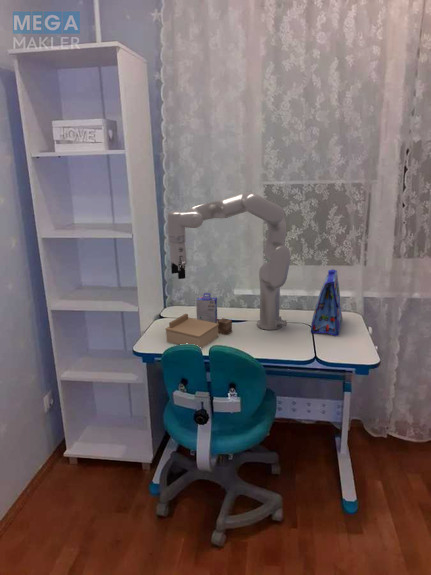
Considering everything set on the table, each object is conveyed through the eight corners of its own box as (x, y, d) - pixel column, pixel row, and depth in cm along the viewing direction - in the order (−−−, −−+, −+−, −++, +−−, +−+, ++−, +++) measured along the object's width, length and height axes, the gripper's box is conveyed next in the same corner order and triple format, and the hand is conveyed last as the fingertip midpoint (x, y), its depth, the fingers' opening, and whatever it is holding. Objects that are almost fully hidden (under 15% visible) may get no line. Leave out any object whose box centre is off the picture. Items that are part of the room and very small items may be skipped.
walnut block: (231, 331, 223) (231, 319, 222) (226, 335, 219) (226, 323, 218) (222, 329, 226) (222, 318, 224) (217, 333, 222) (217, 321, 220)
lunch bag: (339, 336, 215) (343, 277, 206) (309, 333, 219) (312, 274, 210) (342, 320, 234) (346, 264, 226) (315, 317, 239) (318, 262, 230)
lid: (218, 325, 216) (218, 318, 215) (199, 338, 203) (198, 331, 202) (186, 318, 225) (185, 312, 224) (165, 330, 212) (165, 323, 211)
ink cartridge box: (217, 319, 238) (217, 292, 234) (215, 323, 233) (215, 296, 229) (199, 318, 240) (198, 292, 236) (196, 322, 235) (195, 295, 231)
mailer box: (218, 336, 218) (218, 326, 216) (199, 349, 205) (199, 338, 203) (186, 329, 227) (186, 319, 225) (166, 341, 214) (166, 330, 212)
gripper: (191, 241, 201) (192, 279, 207) (178, 234, 217) (179, 270, 222) (175, 243, 199) (176, 281, 204) (163, 236, 214) (164, 272, 219)
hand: (178, 275), depth 213 cm, fingers open, 9 cm apart
